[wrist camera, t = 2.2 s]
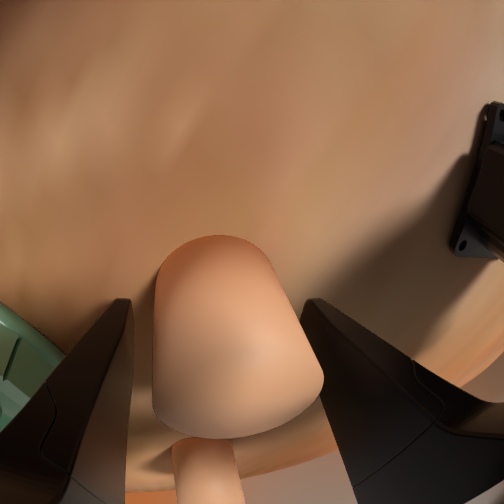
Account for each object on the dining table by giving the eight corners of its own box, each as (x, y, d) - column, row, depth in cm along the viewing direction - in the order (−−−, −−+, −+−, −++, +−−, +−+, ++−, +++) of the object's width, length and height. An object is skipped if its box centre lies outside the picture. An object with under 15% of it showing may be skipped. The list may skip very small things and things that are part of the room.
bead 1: (285, 237, 9) (348, 338, 5) (262, 329, 10) (298, 429, 7) (155, 232, 8) (143, 349, 4) (157, 331, 9) (159, 441, 6)
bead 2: (235, 433, 14) (250, 497, 11) (228, 455, 16) (241, 508, 13) (169, 437, 13) (176, 503, 10) (172, 458, 15) (180, 513, 12)
